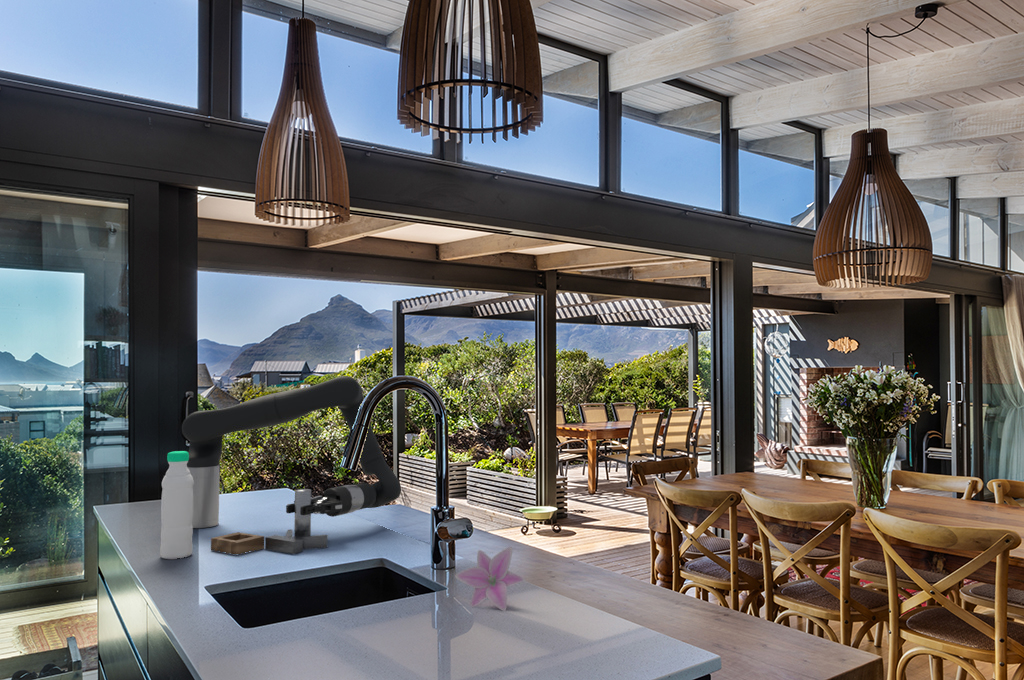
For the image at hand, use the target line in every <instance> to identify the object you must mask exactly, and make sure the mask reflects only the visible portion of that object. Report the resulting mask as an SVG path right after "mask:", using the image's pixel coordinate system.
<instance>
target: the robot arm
mask: <svg viewBox="0 0 1024 680" xmlns="http://www.w3.org/2000/svg"><path fill="white" fill-rule="evenodd" d="M363 400H364V395H363V388H362V386H361V384H360V383H359V382H358V381H357V380H356V379H355V378H353V377H352V376H348V375H342V376H338V377H335V378H332V379H329V380H326V381H324V382H320V383H318V384H317V383H316V384H314V385H311V386H306V387H299V388H294V389H289V390H284V391H279V392H275V393H270V394H266V395H263V396H260V397H259V396H258V397H255V398H253V399H249V400H246V401H243V402H240V403H238V404H235V405H233V406H228V407H223V408H219V409H212V410H209V409H207V410H206V409H204V410H198V411H193V412H192V413H190V414H189V415H188V416H187V417H186V418H185V419H184V420H183V422H182V423H181V433H182V435H183V437H185V439H186V440H188V441H189V448H188V451H187V452H188V453H189V460H188V463H187V468H188V469H189V471H190V474H191V476H192V477H193V480H194V484H193V486H192V487H193V519H192V527H193V529H203V528H211V527H215V526H218V525H219V522H220V520H219V516H220V465H221V464H220V462H221V461H220V459H221V456H222V451H223V436H225V435H228V434H231V433H236V432H241V431H250V430H256V429H263V428H269V427H274V426H279V425H281V424H286V423H289V422H292V421H295V420H297V419H299V418H301V417H304V416H305V415H308V414H309V413H312V412H315V411H319V410H323V409H329V408H330V409H331V408H336V407H338V409H339V410H340V411H341V414H342V415H343V417H344V419H345V421H346V424H347V426H348V428H349V432H350V431H351V429H352V426H353V424H354V421H355V418H356V415H357V412H358V409H359V406H360V404H361V403H362V401H363ZM358 462H359V465H360V468H361V470H362V472H363V474H364V475H366V476H372V475H374V476H375V477H376V479H377V480H378V481H375V482H373V483H371V484H370V483H365V482H363V483H357V484H346V485H340V486H335V487H330V488H327V489H326V490H324V492H323V493H322V495H316V496H315V497H311V505H306V506H301V508H300V514H301V515H308V514H311V515H312V514H315V515H318V514H319V515H327V516H328V517H333V518H334V517H337V516H342V515H347V514H351V513H355V512H356V511H360V510H364V509H374V508H376V509H377V508H380V507H382V506H385V505H387V504H389V503H391V502H394V501H395V500H397V499H398V498H400V497H401V493H402V485H401V483H400V479H399V478H398V477H397V475H395V473H394V472H393V470H392V469H391V467H390V466H389V465H388V463H387V462H386V460H385V457H384V455H383V452H382V449H381V447H380V444H379V442H378V439H377V437H376V435H375V433H374V431H373V428H372V426H371V424H370V427H369V429H368V433H367V437H366V441H365V444H364V448H363V452H362V455H361V458H360V461H359V460H358ZM285 508H286V509H285V512H286V514H293V513H294V514H295V500H293V503H288V504H287V505H286V506H285Z"/></svg>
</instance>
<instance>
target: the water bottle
mask: <svg viewBox="0 0 1024 680" xmlns="http://www.w3.org/2000/svg"><path fill="white" fill-rule="evenodd" d="M188 452H189V451H187V450H179V451H178V450H175V451H170V452H168V453H167V456H166V457H167V458H166V460H167V463H168V465H169V466H168V469H167V470H166V472H165V475H163V478H162V481H161V488H162V491H161V499H160V500H161V503H160V504H161V505H160V507H161V508H160V518H161V520H160V521H161V528H160V540H161V541H160V549H159V550H160V551H159V553H160V554H159V555H160V558H161V559H165V560H178V559H177V558H180V559H184V557H185V558H187V557H190V556H191V555H192V553H193V532H194V528H193V527H192V519H193V487H192V486H193V484H194V480H193V477H192V476H191V474H190V471H189V469H188V468H187V463H188V460H189V453H188Z"/></svg>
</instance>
